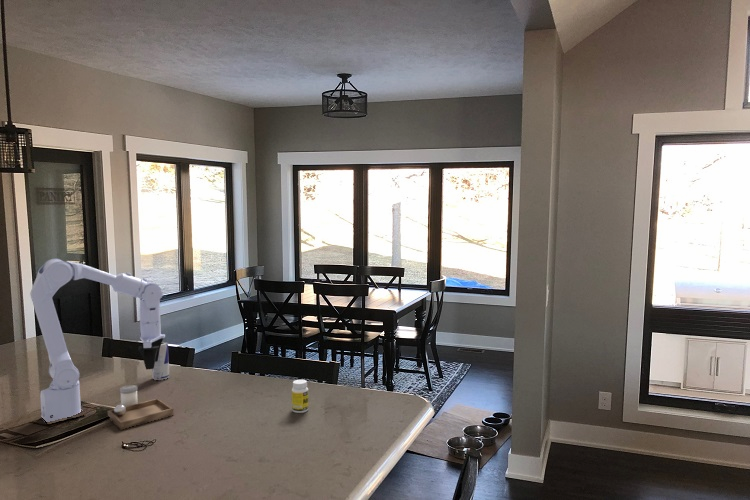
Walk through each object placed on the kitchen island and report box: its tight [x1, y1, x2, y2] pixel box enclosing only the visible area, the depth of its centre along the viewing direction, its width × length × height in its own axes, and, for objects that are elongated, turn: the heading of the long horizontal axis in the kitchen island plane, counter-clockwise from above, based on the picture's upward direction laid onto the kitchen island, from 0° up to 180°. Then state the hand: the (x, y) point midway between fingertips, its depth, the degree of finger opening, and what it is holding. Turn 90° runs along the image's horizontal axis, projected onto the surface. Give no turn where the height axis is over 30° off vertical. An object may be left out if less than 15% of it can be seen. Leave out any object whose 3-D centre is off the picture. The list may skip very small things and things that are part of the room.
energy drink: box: [151, 341, 170, 381], centre depth 183 cm, size 5×5×12 cm
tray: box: [107, 398, 175, 431], centre depth 151 cm, size 14×11×2 cm
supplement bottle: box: [291, 379, 310, 414], centre depth 154 cm, size 5×5×8 cm
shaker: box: [119, 384, 139, 407], centre depth 157 cm, size 5×5×6 cm
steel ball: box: [113, 404, 126, 416], centre depth 150 cm, size 3×3×3 cm
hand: (152, 365), depth 165 cm, fingers open, 7 cm apart
